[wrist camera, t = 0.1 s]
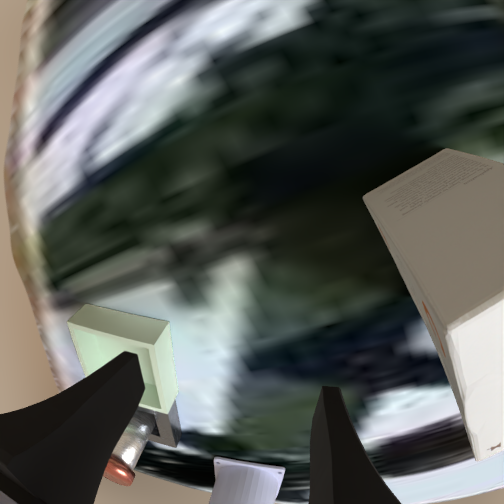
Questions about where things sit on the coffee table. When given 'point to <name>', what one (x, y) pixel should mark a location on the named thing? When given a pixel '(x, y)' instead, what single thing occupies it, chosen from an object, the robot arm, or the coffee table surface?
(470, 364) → the small box
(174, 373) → the tray
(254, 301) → the coffee table surface
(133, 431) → the lock pin
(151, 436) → the block
